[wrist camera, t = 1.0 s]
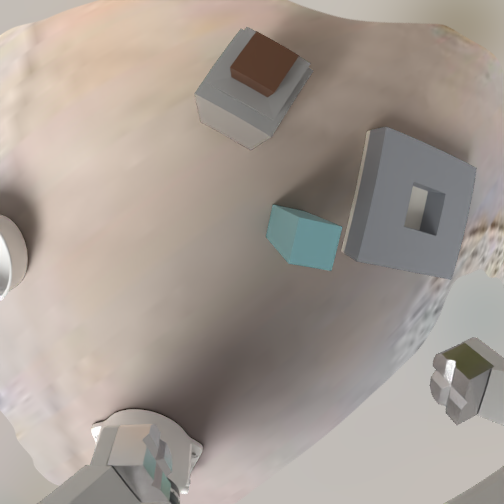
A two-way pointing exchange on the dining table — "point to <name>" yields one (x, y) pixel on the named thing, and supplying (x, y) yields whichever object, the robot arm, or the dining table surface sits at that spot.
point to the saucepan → (11, 256)
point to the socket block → (408, 205)
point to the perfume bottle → (251, 88)
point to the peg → (303, 237)
